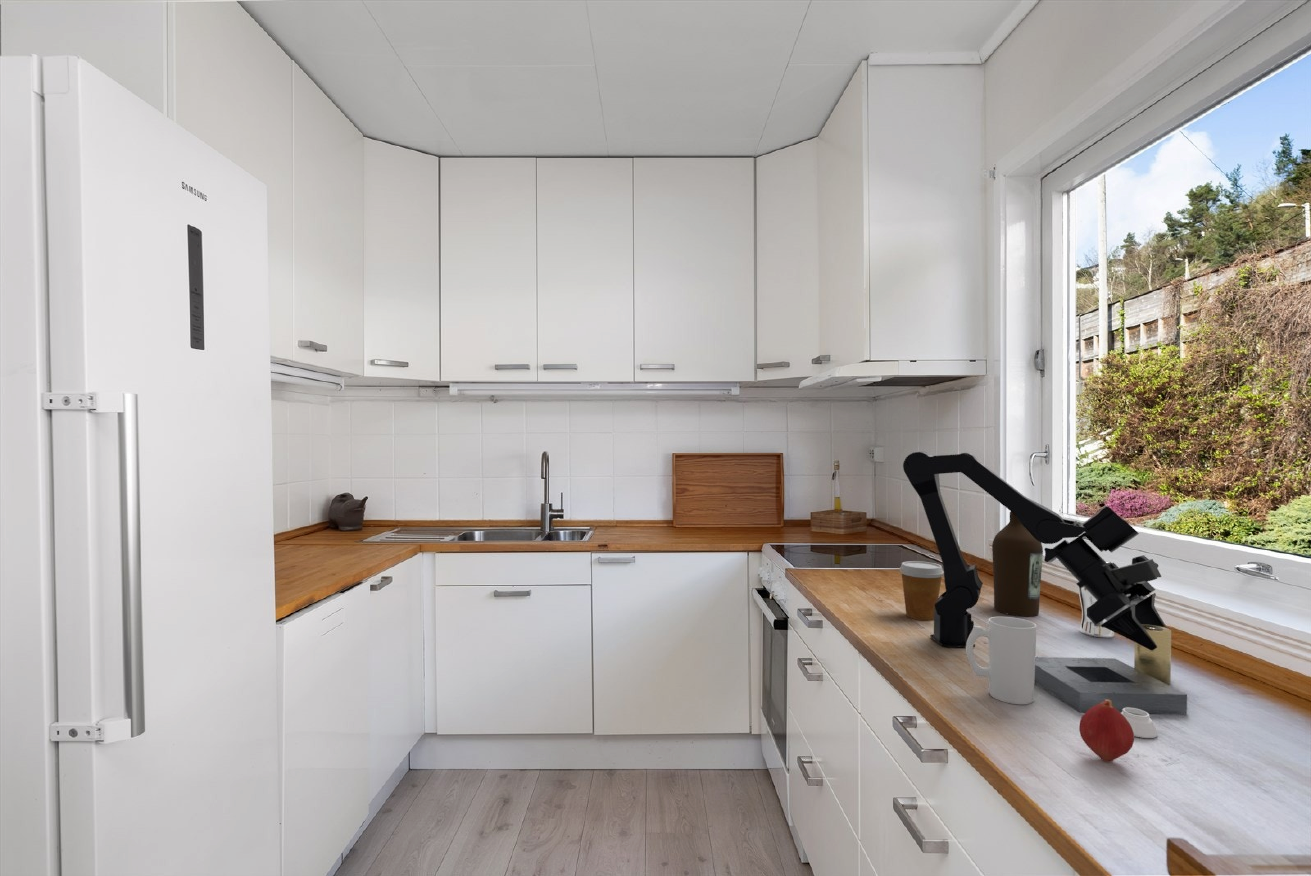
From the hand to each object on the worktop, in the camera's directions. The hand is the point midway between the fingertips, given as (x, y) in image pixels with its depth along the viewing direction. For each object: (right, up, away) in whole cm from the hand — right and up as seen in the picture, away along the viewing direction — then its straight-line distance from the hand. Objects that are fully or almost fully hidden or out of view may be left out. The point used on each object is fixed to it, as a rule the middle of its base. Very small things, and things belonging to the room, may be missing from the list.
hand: (1162, 643), depth 112 cm
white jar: (-18, -7, -19) cm, 27 cm away
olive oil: (0, -7, +45) cm, 46 cm away
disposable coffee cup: (-25, -6, +40) cm, 47 cm away
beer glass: (+8, -7, +28) cm, 30 cm away
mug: (-31, -7, -6) cm, 32 cm away
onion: (-28, -7, -27) cm, 40 cm away
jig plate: (-14, -7, -5) cm, 16 cm away
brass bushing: (-1, -7, +1) cm, 7 cm away
